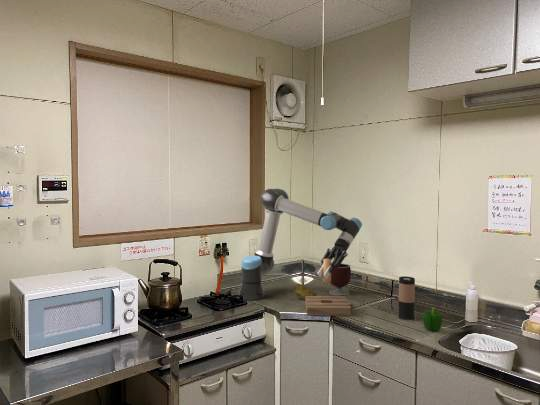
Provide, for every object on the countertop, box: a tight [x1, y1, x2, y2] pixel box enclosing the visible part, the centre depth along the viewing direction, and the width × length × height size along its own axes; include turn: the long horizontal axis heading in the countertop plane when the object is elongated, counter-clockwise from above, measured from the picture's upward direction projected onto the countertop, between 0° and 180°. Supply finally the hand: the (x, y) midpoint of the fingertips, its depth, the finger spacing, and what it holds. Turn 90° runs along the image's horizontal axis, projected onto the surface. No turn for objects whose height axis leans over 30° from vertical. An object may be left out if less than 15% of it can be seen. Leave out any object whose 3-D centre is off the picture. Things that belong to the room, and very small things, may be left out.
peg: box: [322, 258, 332, 284], centre depth 221 cm, size 4×4×12 cm
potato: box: [293, 284, 317, 301], centre depth 241 cm, size 8×13×8 cm, turn 43°
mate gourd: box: [328, 262, 352, 296], centre depth 255 cm, size 16×14×20 cm
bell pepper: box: [422, 306, 443, 332], centre depth 190 cm, size 8×8×10 cm
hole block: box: [304, 295, 352, 316], centre depth 221 cm, size 22×22×4 cm
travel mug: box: [397, 276, 416, 321], centre depth 207 cm, size 8×8×20 cm
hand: (322, 275), depth 218 cm, fingers closed on peg, 4 cm apart
